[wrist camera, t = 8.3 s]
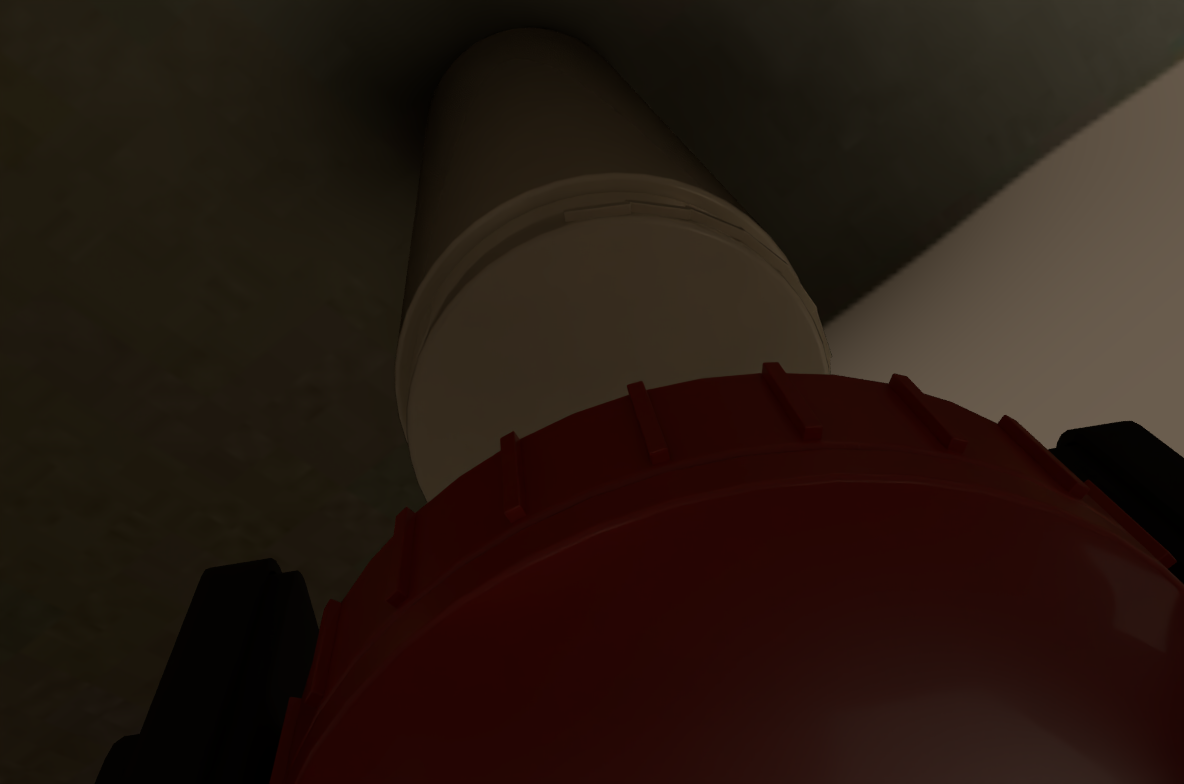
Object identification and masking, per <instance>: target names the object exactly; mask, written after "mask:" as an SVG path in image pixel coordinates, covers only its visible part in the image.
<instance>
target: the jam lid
mask: <svg viewBox="0 0 1184 784" xmlns="http://www.w3.org/2000/svg"><path fill="white" fill-rule="evenodd" d="M627 390H628V394H629V395H626V396H623V397H620V398H617V399H614V400H611V401H609V402H606V403H603V404H599V405H597V406H594V407H591V408H588V409H585V410H582V411H579V412H576V413H573V414H571V415H569V416H567V417H565V418H563V419H561V420H559V421H557V422H554V423H552V424H550V425H548V426H546V427H544V428H542V429H540V430H538V431H536V432H534V433H531V434H529V435H527V436H525V437H523V438H521V439H519V437H518V436H517V434H516V433H515V432H514V431H512V432H511V433H509V434H507V435H505V436H503V437H502V438H500V447H501V451H499V452H497V453H496V454H494V455H493V456H491V457H490V458H488V459H486V460H485V461H483V462H482V463H480V464H479V465H477V466H475V467H474V468H472V469H471V470H469V471H468V472H466V473H464V474H463V475H461V476H460V477H458V478H457V479H456V480H455V481H454V482H452V483H451V484H450V485H449V486H448V487H446V488H445V489H444V490H443V491H442V492H440V493H439V494H438V495H437V496H435V497H434V498H433V499H432V500H431V501H429V502H428V503H427V504H426V505H425V506H423V507H422V508H421V509H420V510H419V511H417V512H416V513H414V512H413V511H412V510H410V509H409V508H408V507H406V508H404V509H403V510H402V511H401V512H400V513H399V514H398V515H397V516H396V521H395V529H394V536H393V537H392V538H391V539H390V540H389V541H388V542H387V543H386V544H385V545H384V546H383V548H382V549H381V550H380V551H379V552H378V553H377V554H376V555H375V556H374V557H373V558H372V559H371V561H370V562H369V563H368V565H367V566H366V568H365V569H364V571H363V572H362V573H361V575H360V576H359V578H358V579H357V581H356V582H355V584H354V585H353V586H352V588H351V589H350V591H349V592H348V594H347V595H346V597H345V598H344V599H343V601H342V602H341V603H340V602H338V601H335V600H333V599H330V600H329V602H328V603H327V605H326V607H325V609H324V612H323V616H322V621H321V625H320V630H319V635H318V639H317V644H316V649H315V653H314V658H313V662H312V666H311V669H310V672H309V676H308V679H307V682H306V685H305V689H304V692H303V695H302V698H295V697H290V698H289V701H288V705H287V710H286V714H285V718H284V722H283V727H282V731H281V735H280V739H279V743H278V748H277V752H276V756H275V760H274V765H273V769H272V773H271V777H270V782H269V784H1184V584H1183V583H1182V582H1181V581H1180V580H1179V579H1178V578H1177V577H1176V576H1174V575H1173V574H1172V573H1171V572H1170V571H1169V570H1168V568H1170V567H1171V566H1172V565H1174V564H1175V563H1176V562H1177V561H1176V559H1175V558H1174V557H1173V556H1172V555H1171V554H1170V552H1169V551H1167V550H1166V549H1165V548H1164V547H1163V546H1162V545H1161V544H1160V543H1159V542H1157V541H1156V540H1155V539H1154V538H1153V537H1152V536H1151V535H1150V534H1149V533H1147V532H1146V531H1145V530H1144V529H1143V528H1142V527H1141V526H1140V525H1139V524H1138V523H1136V522H1135V521H1134V520H1133V519H1132V518H1131V517H1130V516H1129V515H1128V514H1126V513H1125V512H1124V511H1123V510H1122V509H1121V508H1120V507H1119V506H1118V505H1117V504H1115V503H1114V502H1113V501H1112V500H1111V499H1110V498H1109V497H1108V496H1107V495H1105V494H1104V493H1103V492H1102V491H1101V490H1100V489H1099V488H1098V487H1097V486H1096V485H1094V484H1093V483H1092V482H1091V481H1090V480H1086V481H1085V482H1084V483H1083V482H1082V481H1081V480H1080V479H1079V478H1078V477H1077V476H1076V475H1075V474H1074V473H1073V472H1071V471H1070V470H1069V469H1068V468H1067V467H1066V466H1065V465H1064V464H1063V463H1062V462H1061V461H1059V460H1058V459H1057V458H1056V457H1055V456H1054V455H1053V454H1052V453H1051V452H1050V451H1049V450H1047V449H1046V448H1045V447H1044V446H1043V445H1042V444H1041V443H1040V442H1038V440H1036V439H1035V438H1034V437H1033V436H1032V435H1031V434H1030V433H1029V432H1028V431H1026V429H1025V428H1023V427H1022V426H1021V425H1020V424H1019V423H1018V422H1017V421H1016V420H1014V419H1012V418H1010V417H1009V416H1007V415H1004V416H1003V417H1002V419H1001V420H1000V421H999V422H998V424H997V423H995V422H993V421H991V420H988V419H986V418H984V417H982V416H980V415H978V414H976V413H974V412H972V411H969V410H967V409H965V408H963V407H961V406H959V405H957V404H955V403H953V402H950V401H947V400H943V399H940V398H937V397H934V396H930V395H927V394H924V393H922V392H921V390H920V389H918V387H917V386H916V385H915V384H914V383H913V382H912V381H911V380H910V379H909V378H908V377H907V376H903V375H898V374H893V375H892V378H891V380H890V382H889V384H888V383H882V382H875V381H869V380H863V379H857V378H850V377H845V376H838V375H829V374H799V373H786V372H785V371H784V369H783V368H782V366H781V365H780V364H779V362H764V363H763V364H762V373H755V374H744V375H732V376H721V377H710V378H700V379H696V380H691V381H686V382H682V383H677V384H672V385H667V386H663V387H658V388H653V389H648V390H646V388H645V385H644V383H643V381H639V382H635V383H632V384H628V385H627Z"/></svg>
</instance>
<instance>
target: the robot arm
mask: <svg viewBox="0 0 1184 784" xmlns="http://www.w3.org/2000/svg"><path fill="white" fill-rule="evenodd" d="M1049 451H1050V452H1051V453H1052V454H1053V455H1054V456H1055V457H1056V458H1057V459H1058V460H1059V461H1061V462H1062V463H1063V464H1064V465H1065V466H1066V467H1067V468H1068V469H1069V470H1070V471H1071V472H1073V473H1074V474H1075V475H1076V476H1077V477H1078V478H1079V479H1080V480H1081V481H1082V482H1083V483H1084V482H1085V481H1086V480H1090V481H1091V482H1092V483H1093V484H1094V485H1096V486H1097V487H1098V488H1099V489H1100V490H1101V491H1102V492H1103V493H1104V494H1105V495H1107V496H1108V497H1109V498H1110V499H1111V500H1112V501H1113V502H1114V503H1115V504H1117V505H1118V506H1119V507H1120V508H1121V509H1122V510H1123V511H1124V512H1125V513H1126V514H1128V515H1129V516H1130V517H1131V518H1132V519H1133V520H1134V521H1135V522H1136V523H1138V524H1139V525H1140V526H1141V527H1142V528H1143V529H1144V530H1145V531H1146V532H1147V533H1149V534H1150V535H1151V536H1152V537H1153V538H1154V539H1155V540H1156V541H1157V542H1159V543H1160V544H1161V545H1162V546H1163V547H1164V548H1165V549H1166V550H1167V551H1169V552H1170V554H1171V555H1172V556H1173V557H1174V558H1175V559H1176V561H1177V562H1176V563H1175V564H1174V565H1172V566H1171V567H1170V568H1168V570H1169V571H1170V572H1171V573H1172V574H1173V575H1174V576H1176V577H1177V578H1178V579H1179V580H1180V581H1181V582H1182V583H1183V584H1184V458H1183V457H1182V456H1180V455H1179V454H1178V453H1177V452H1175V451H1174V450H1173V449H1171V448H1170V447H1169V446H1167V445H1166V444H1165V443H1163V442H1162V441H1161V440H1159V439H1158V438H1156V437H1155V436H1154V435H1153V434H1151V433H1150V432H1149V431H1147V430H1146V429H1145V428H1143V427H1142V426H1141V425H1139V424H1137V423H1135V422H1133V421H1121V422H1115V423H1109V424H1103V425H1097V426H1090V427H1084V428H1078V429H1071V430H1067V431H1066V432H1064V433H1063V434H1061V436H1060V438H1059V440H1058V442H1057V446H1056V448H1053V449H1049ZM318 635H319V629H318V625H317V622H316V618H315V615H314V611H313V608H312V604H311V601H310V597H309V593H308V590H307V586H306V583H305V581H304V578H303V576H302V574H301V573H300V572H299V571H291V572H285V573H282V572H281V569H280V567H279V565H278V564H277V562H276V561H275V560H274V559H272V558H268V559H262V560H256V561H250V562H244V563H237V564H231V565H225V566H219V567H212V568H209V569H206V570H205V571H204V573H203V575H202V576H201V579H200V581H199V584H198V586H197V589H196V591H195V594H194V596H193V599H192V602H191V604H190V607H189V609H188V612H187V614H186V617H185V619H184V622H183V625H182V627H181V630H180V632H179V635H178V637H177V640H176V643H175V645H174V648H173V650H172V653H171V655H170V658H169V660H168V663H167V666H166V668H165V671H164V673H163V676H162V678H161V681H160V683H159V686H158V689H157V691H156V694H155V696H154V699H153V701H152V704H151V706H150V709H149V712H148V714H147V717H146V719H145V722H144V724H143V727H142V730H141V732H140V734H136V735H130V736H124V737H123V738H121V739H120V740H118V741H117V742H116V743H114V745H113V746H112V748H111V750H110V751H109V753H108V755H107V757H106V758H105V760H104V763H103V765H102V768H101V770H100V772H99V775H98V777H97V779H96V782H95V784H269V782H270V777H271V773H272V769H273V765H274V760H275V756H276V752H277V748H278V743H279V739H280V735H281V731H282V727H283V722H284V718H285V714H286V710H287V705H288V701H289V698H290V697H295V698H302V695H303V692H304V689H305V685H306V682H307V679H308V676H309V672H310V669H311V666H312V662H313V658H314V653H315V649H316V644H317V639H318Z"/></svg>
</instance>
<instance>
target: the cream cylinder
mask: <svg viewBox="0 0 1184 784" xmlns="http://www.w3.org/2000/svg"><path fill="white" fill-rule="evenodd" d="M831 357H832V354H831V351H830V348H829V346H828V342H827V339H826V336H825V333H824V330H823V327H822V324H821V321H820V318H819V315H818V312H817V307H816V305H815V304H814V302H813V301H812V299H811V298H810V297H809V295H808V294H807V292H806V291H805V289H804V288H803V287H802V285H801V282H800V280H799V277H798V276H797V274H796V272H795V271H794V269H793V267H792V265H791V264H790V262H789V260H788V259H787V257H786V255H785V254H784V253H783V252H782V250H781V249H780V248H779V247H778V245H777V244H776V243H775V242H774V240H773V239H772V238H771V237H770V235H769V234H768V233H767V232H766V231H765V230H764V229H763V228H762V227H761V226H760V225H759V224H758V222H757V221H756V220H755V219H754V218H753V217H752V216H751V215H750V214H749V213H748V212H747V211H746V210H745V209H744V207H743V206H742V205H741V204H740V203H739V202H738V201H737V200H736V199H735V198H734V197H733V196H732V195H731V194H730V192H729V191H728V190H727V189H726V188H725V187H724V186H723V185H722V184H721V183H720V182H719V181H718V180H717V178H716V177H715V176H714V175H713V174H712V173H711V172H710V171H709V170H708V169H707V168H706V167H705V166H704V165H703V163H702V162H701V161H700V160H699V159H698V158H697V157H696V156H695V155H694V154H693V153H692V152H691V151H690V150H689V148H688V147H687V146H686V145H685V144H684V143H683V142H682V141H681V140H680V139H679V138H678V137H677V136H676V134H675V133H674V132H673V131H672V130H671V129H670V128H669V127H668V126H667V125H666V124H665V123H664V122H663V121H662V119H661V118H660V117H659V116H658V115H657V114H656V113H655V112H654V111H653V110H652V109H651V108H650V107H649V106H648V104H647V103H646V102H645V101H644V100H643V99H642V98H641V97H640V96H639V95H638V94H637V93H636V92H635V90H634V89H633V88H632V87H631V86H630V85H629V84H628V83H627V82H626V81H625V80H624V79H623V78H622V77H621V75H620V74H619V73H618V72H617V71H616V70H615V69H614V68H613V67H612V66H611V65H610V64H609V63H608V62H607V60H605V59H604V58H603V57H602V56H601V55H600V54H599V53H598V52H597V51H596V50H594V49H593V48H591V47H590V46H589V45H587V44H586V43H584V42H582V41H580V40H579V39H577V38H575V37H573V36H570V35H568V34H565V33H562V32H559V31H555V30H550V29H545V28H532V27H530V28H516V29H511V30H506V31H502V32H499V33H496V34H494V35H491V36H488V37H486V38H485V39H483V40H481V41H479V42H477V43H475V44H474V45H473V46H471V47H470V48H468V49H467V50H466V51H464V52H463V53H462V54H461V55H460V56H459V57H458V58H457V59H456V60H455V61H454V62H453V63H452V64H451V66H450V67H449V68H448V69H447V71H446V72H445V74H444V75H443V77H442V78H441V80H440V82H439V83H438V85H437V88H436V90H435V92H434V95H433V97H432V100H431V104H430V107H429V111H428V118H427V125H426V133H425V140H424V148H423V155H422V163H421V170H420V178H419V186H418V193H417V201H416V208H415V216H414V223H413V231H412V238H411V246H410V254H409V261H408V269H407V276H406V284H405V291H404V299H403V306H402V314H401V321H400V329H399V337H398V344H397V352H396V359H395V396H396V403H397V410H398V416H399V419H400V423H401V426H402V430H403V433H404V436H405V440H406V442H407V444H408V447H409V454H410V459H411V463H412V466H413V469H414V473H415V476H416V479H417V482H418V484H419V487H420V489H421V491H422V493H423V495H424V497H425V499H426V501H427V503H428V502H429V501H431V500H432V499H433V498H434V497H435V496H437V495H438V494H439V493H440V492H442V491H443V490H444V489H445V488H446V487H448V486H449V485H450V484H451V483H452V482H454V481H455V480H456V479H457V478H458V477H460V476H461V475H463V474H464V473H466V472H468V471H469V470H471V469H472V468H474V467H475V466H477V465H479V464H480V463H482V462H483V461H485V460H486V459H488V458H490V457H491V456H493V455H494V454H496V453H497V452H499V451H501V447H500V438H502V437H503V436H505V435H507V434H509V433H511V432H512V431H514V432H515V433H516V434H517V436H518V437H519V439H521V438H523V437H525V436H527V435H529V434H531V433H534V432H536V431H538V430H540V429H542V428H544V427H546V426H548V425H550V424H552V423H554V422H557V421H559V420H561V419H563V418H565V417H567V416H569V415H571V414H573V413H576V412H579V411H582V410H585V409H588V408H591V407H594V406H597V405H599V404H603V403H606V402H609V401H611V400H614V399H617V398H620V397H623V396H626V395H629V394H628V390H627V385H628V384H632V383H635V382H639V381H643V383H644V385H645V388H646V390H648V389H653V388H658V387H663V386H667V385H672V384H677V383H682V382H686V381H691V380H696V379H700V378H710V377H721V376H732V375H744V374H755V373H762V364H763V363H764V362H779V364H780V365H781V366H782V368H783V369H784V371H785V372H786V373H799V374H829V375H831V374H830V373H831V371H830V358H831Z"/></svg>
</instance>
